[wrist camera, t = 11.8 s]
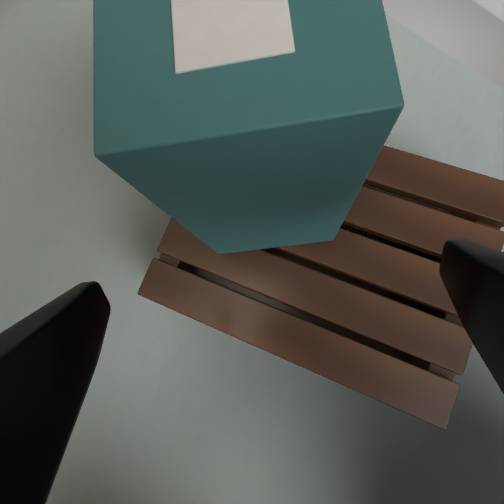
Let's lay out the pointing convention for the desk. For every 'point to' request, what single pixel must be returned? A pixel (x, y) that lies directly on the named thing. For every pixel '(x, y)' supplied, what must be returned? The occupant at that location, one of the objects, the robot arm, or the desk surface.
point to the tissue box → (245, 111)
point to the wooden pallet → (351, 286)
